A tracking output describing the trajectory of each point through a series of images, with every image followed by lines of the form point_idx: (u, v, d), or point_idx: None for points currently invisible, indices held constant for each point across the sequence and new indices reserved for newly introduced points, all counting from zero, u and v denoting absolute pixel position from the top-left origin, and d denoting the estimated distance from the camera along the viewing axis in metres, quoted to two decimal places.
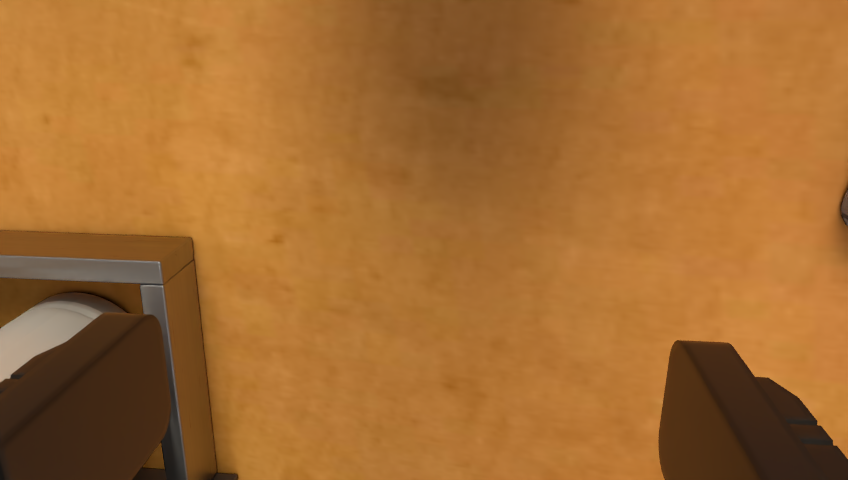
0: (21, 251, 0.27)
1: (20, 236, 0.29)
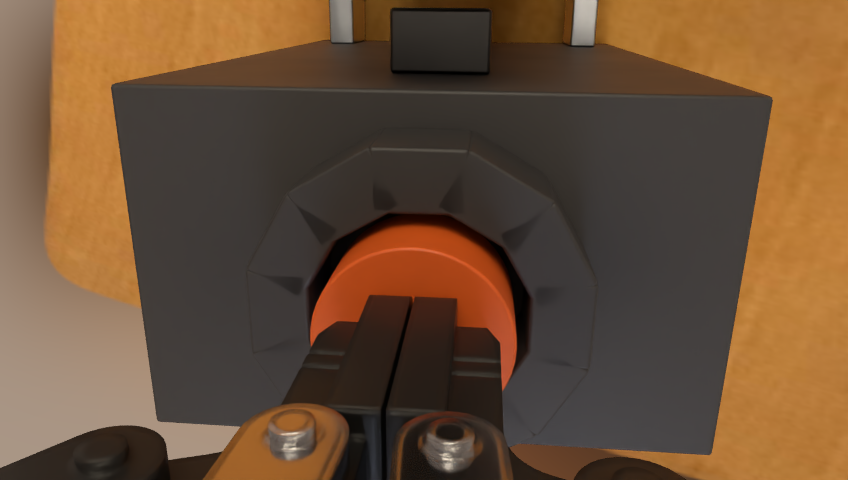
0: None
1: None
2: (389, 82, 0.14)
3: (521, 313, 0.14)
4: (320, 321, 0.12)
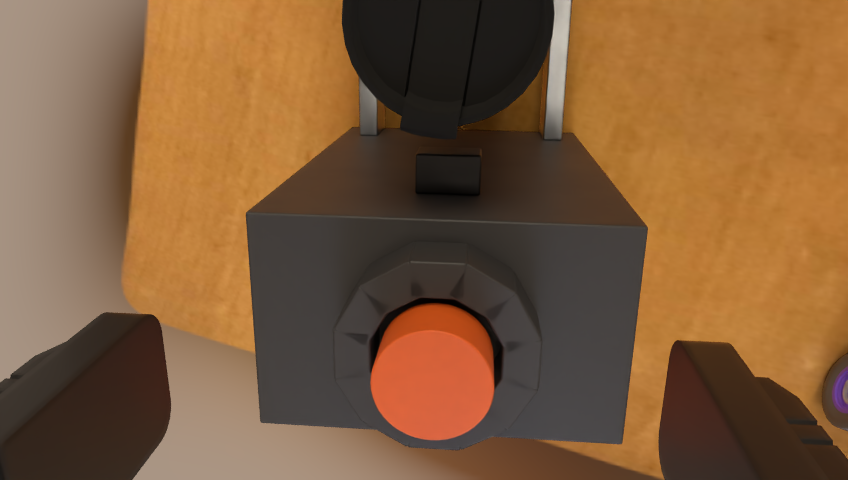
0: None
1: None
2: (416, 208, 0.23)
3: (499, 353, 0.23)
4: (377, 372, 0.20)
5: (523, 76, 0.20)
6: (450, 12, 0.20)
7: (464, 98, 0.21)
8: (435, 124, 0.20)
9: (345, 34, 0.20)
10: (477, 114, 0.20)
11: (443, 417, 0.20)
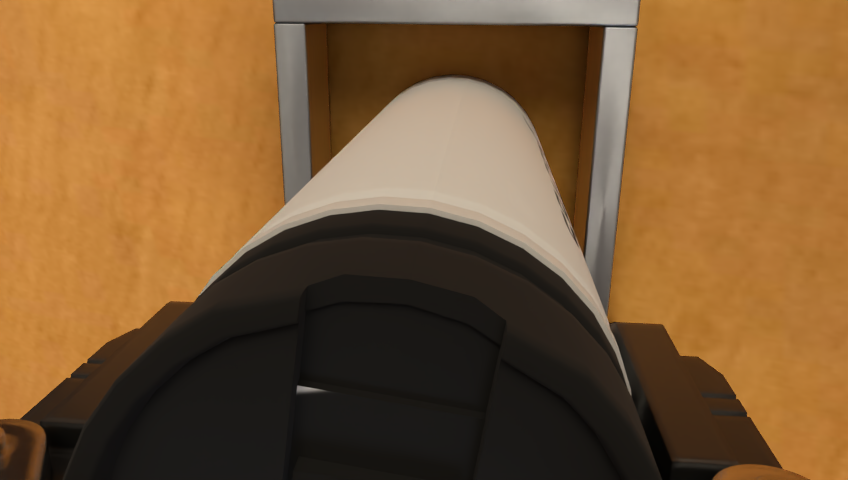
0: None
1: None
2: None
3: None
4: None
5: None
6: None
7: None
8: None
9: None
10: None
11: None
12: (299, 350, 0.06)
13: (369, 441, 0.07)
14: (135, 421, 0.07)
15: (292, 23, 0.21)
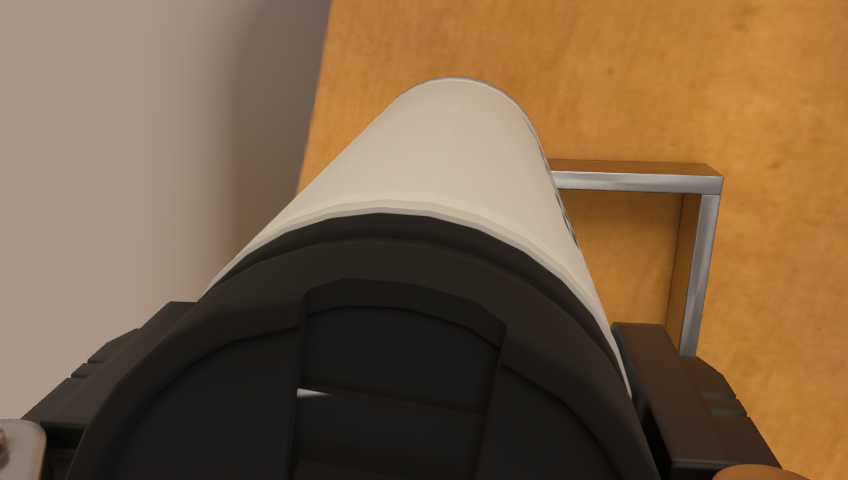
0: (604, 170, 0.36)
1: (577, 162, 0.37)
2: None
3: None
4: None
5: None
6: None
7: None
8: None
9: None
10: None
11: None
12: (299, 353, 0.06)
13: (369, 444, 0.07)
14: (136, 424, 0.07)
15: None
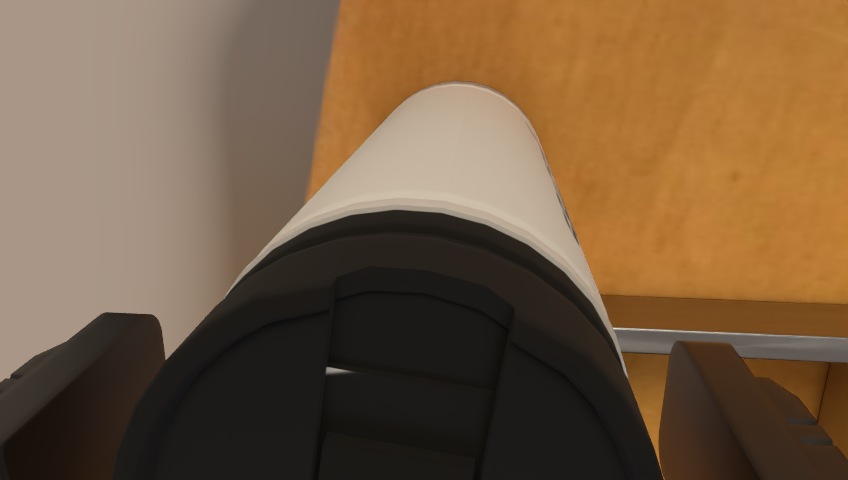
0: (730, 326, 0.24)
1: (684, 305, 0.26)
2: None
3: None
4: None
5: None
6: None
7: None
8: None
9: None
10: None
11: None
12: (328, 334, 0.07)
13: (390, 417, 0.07)
14: (181, 399, 0.07)
15: None
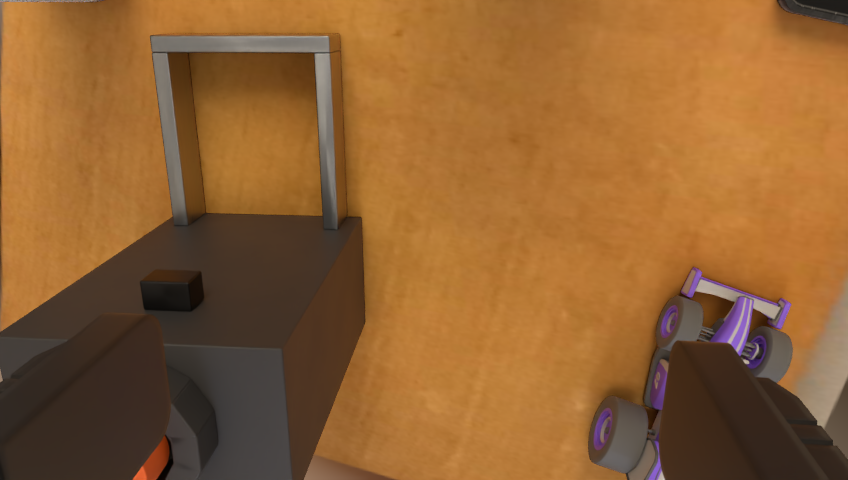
0: (233, 35, 0.41)
1: None
2: None
3: None
4: None
5: None
6: None
7: None
8: None
9: None
10: None
11: None
12: None
13: None
14: None
15: (160, 52, 0.41)
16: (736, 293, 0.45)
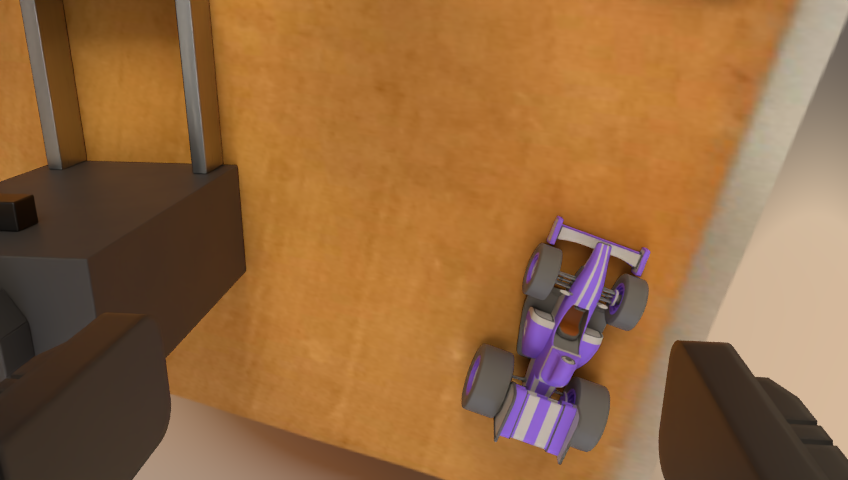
0: None
1: None
2: None
3: None
4: None
5: None
6: None
7: None
8: None
9: None
10: None
11: None
12: None
13: None
14: None
15: None
16: (597, 241, 0.46)
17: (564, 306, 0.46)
